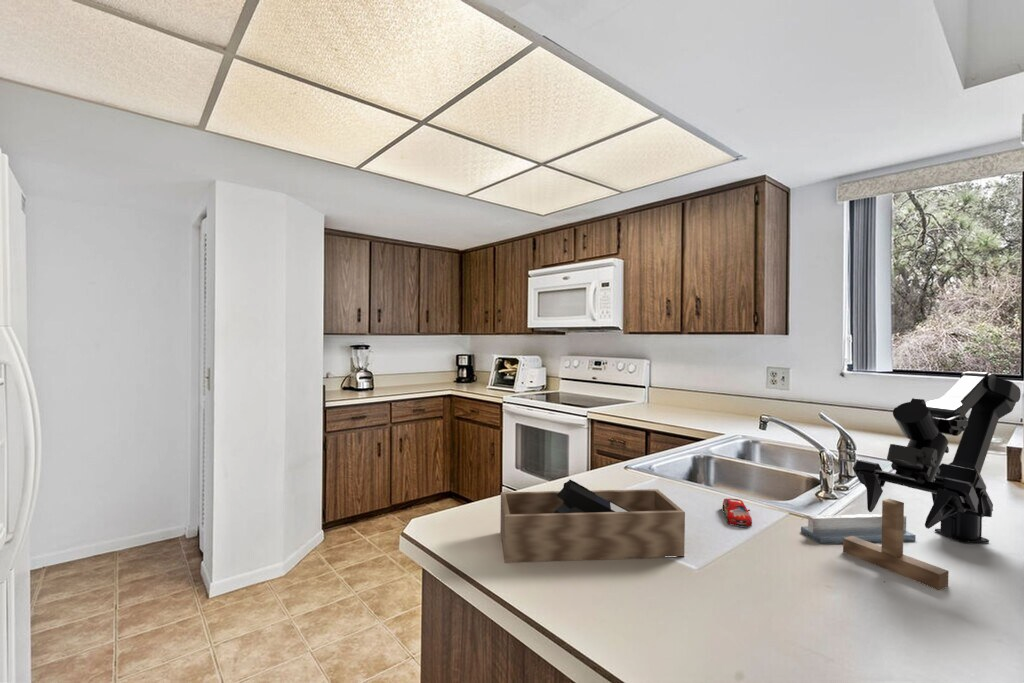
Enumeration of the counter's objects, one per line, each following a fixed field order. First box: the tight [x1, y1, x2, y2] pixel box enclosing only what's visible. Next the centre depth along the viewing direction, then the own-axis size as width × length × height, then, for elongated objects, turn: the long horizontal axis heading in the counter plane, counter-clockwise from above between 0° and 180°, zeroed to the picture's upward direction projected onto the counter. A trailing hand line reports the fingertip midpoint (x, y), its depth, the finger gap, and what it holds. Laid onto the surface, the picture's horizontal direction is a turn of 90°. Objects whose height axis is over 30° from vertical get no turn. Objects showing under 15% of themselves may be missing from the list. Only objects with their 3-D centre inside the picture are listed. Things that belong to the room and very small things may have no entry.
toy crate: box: [499, 488, 686, 564], centre depth 100 cm, size 36×14×9 cm, turn 95°
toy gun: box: [554, 478, 630, 513], centre depth 101 cm, size 3×24×15 cm, turn 109°
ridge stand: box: [800, 513, 916, 544], centre depth 105 cm, size 22×6×4 cm, turn 95°
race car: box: [722, 497, 753, 528], centre depth 115 cm, size 13×5×4 cm, turn 162°
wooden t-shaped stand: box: [842, 498, 950, 591], centre depth 91 cm, size 16×3×13 cm, turn 25°
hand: (896, 518), depth 92 cm, fingers open, 9 cm apart
